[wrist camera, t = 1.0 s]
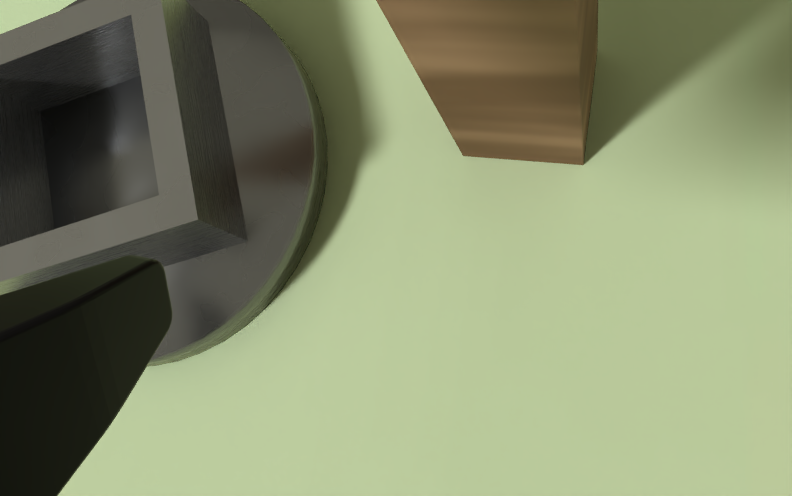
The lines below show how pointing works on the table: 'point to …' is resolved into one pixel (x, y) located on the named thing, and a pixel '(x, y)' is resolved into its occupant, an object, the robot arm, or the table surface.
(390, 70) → the table surface
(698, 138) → the table surface
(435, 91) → the brown wooden square peg
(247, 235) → the rosette socket
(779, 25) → the table surface
